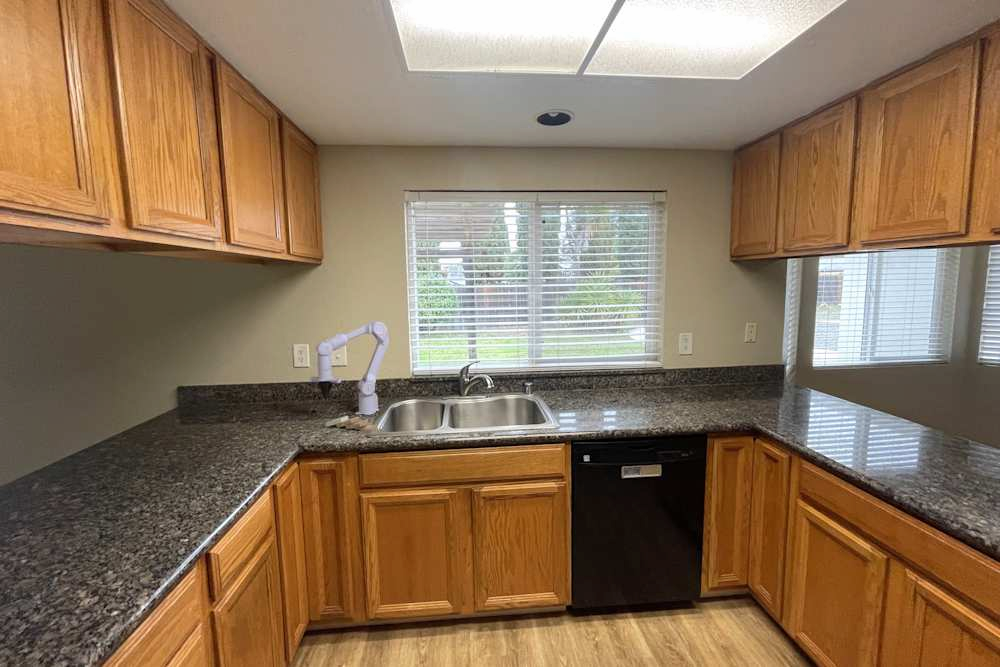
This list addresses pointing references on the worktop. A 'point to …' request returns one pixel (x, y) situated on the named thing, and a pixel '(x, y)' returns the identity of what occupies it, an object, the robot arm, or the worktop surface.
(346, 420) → the domino
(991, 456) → the worktop surface
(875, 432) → the worktop surface
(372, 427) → the domino
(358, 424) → the domino
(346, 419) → the domino
